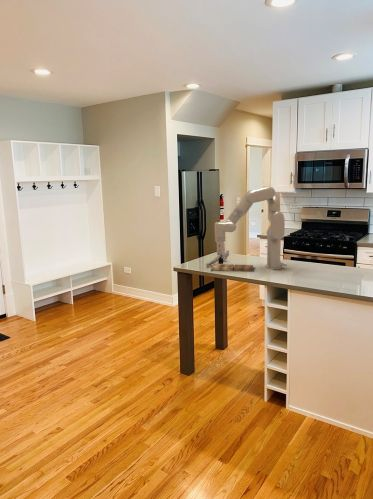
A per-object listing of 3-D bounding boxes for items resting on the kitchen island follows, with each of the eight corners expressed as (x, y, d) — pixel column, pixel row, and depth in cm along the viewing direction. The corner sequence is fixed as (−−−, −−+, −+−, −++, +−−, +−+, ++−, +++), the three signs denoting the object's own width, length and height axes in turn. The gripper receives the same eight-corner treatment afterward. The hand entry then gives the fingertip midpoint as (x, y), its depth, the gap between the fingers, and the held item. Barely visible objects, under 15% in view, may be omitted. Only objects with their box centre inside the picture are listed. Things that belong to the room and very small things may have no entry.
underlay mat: (254, 268, 280) (254, 267, 280) (254, 272, 267) (254, 271, 267) (213, 266, 286) (213, 266, 286) (210, 271, 274) (210, 270, 274)
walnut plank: (253, 267, 279) (253, 265, 279) (252, 271, 269) (252, 268, 268) (235, 267, 282) (235, 264, 281) (234, 270, 271) (234, 268, 271)
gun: (229, 259, 306) (228, 250, 304) (208, 273, 285) (207, 263, 282) (227, 258, 307) (226, 249, 305) (206, 272, 286) (205, 263, 283)
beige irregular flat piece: (233, 267, 282) (233, 264, 282) (232, 270, 271) (232, 267, 271) (213, 266, 285) (213, 263, 285) (211, 269, 274) (211, 267, 274)
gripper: (224, 240, 267) (225, 266, 270) (226, 237, 281) (227, 261, 284) (213, 240, 268) (214, 266, 272) (216, 237, 282) (217, 261, 286)
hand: (220, 263), depth 278 cm, fingers closed
